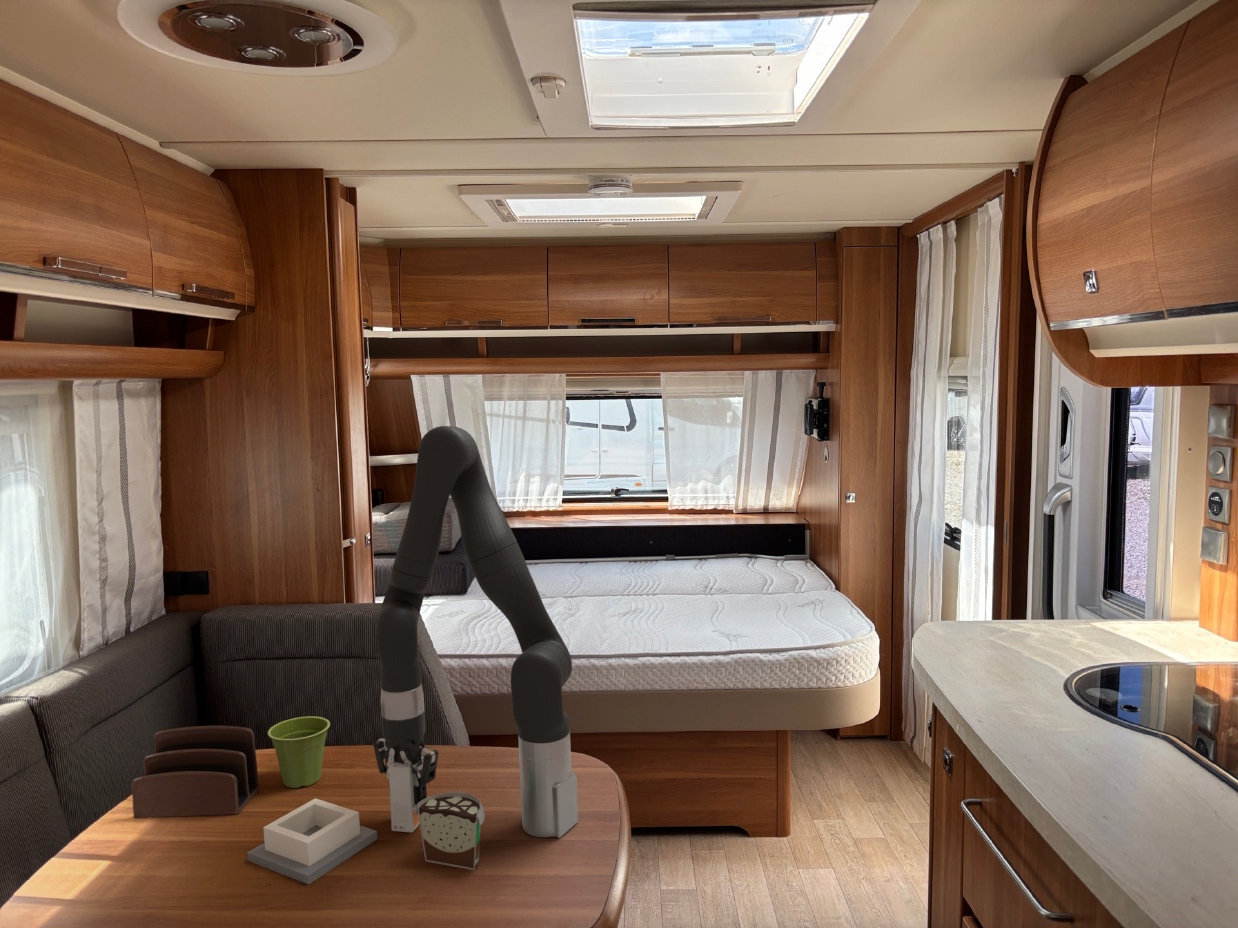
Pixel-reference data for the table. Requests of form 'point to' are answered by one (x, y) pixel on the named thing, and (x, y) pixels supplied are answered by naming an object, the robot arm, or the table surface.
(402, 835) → the table surface
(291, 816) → the box stand
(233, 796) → the letter holder
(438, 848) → the food container
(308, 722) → the plant pot
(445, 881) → the table surface
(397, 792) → the skincare box
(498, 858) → the table surface
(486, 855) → the table surface
